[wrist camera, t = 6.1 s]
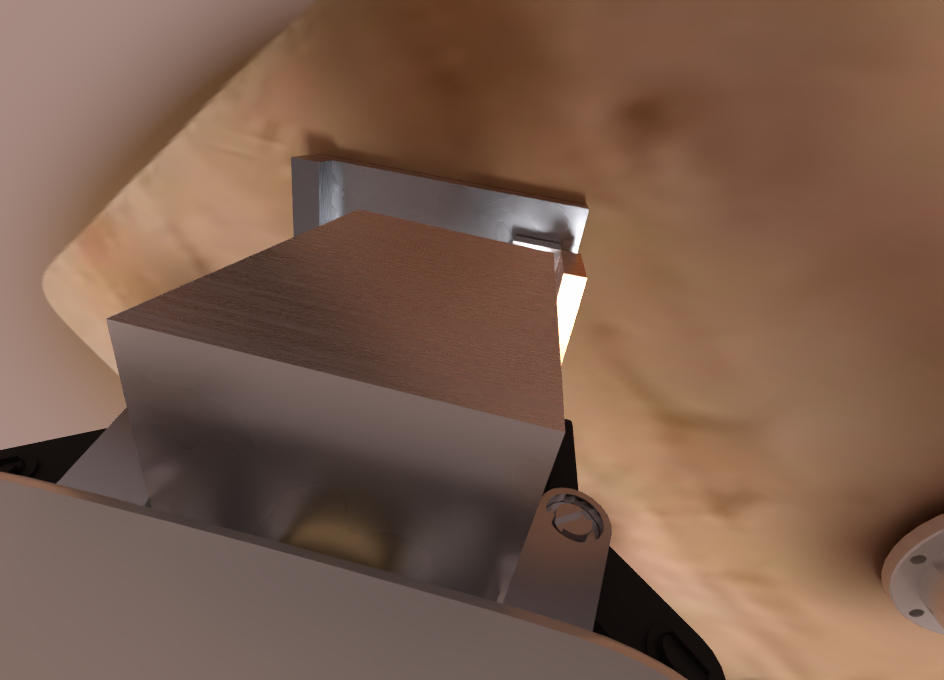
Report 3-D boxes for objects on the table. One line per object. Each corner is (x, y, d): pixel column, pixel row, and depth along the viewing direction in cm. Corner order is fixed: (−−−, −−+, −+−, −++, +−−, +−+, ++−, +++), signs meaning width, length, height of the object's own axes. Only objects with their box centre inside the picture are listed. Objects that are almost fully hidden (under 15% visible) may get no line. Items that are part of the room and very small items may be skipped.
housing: (553, 253, 11) (573, 565, 3) (488, 485, 14) (423, 888, 7) (358, 209, 11) (-73, 396, 3) (344, 448, 14) (126, 795, 7)
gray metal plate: (586, 204, 24) (591, 214, 21) (534, 397, 30) (532, 423, 27) (318, 153, 25) (291, 156, 22) (320, 349, 31) (298, 370, 28)
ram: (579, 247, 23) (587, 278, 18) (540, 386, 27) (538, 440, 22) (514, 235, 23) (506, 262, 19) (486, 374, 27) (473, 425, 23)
